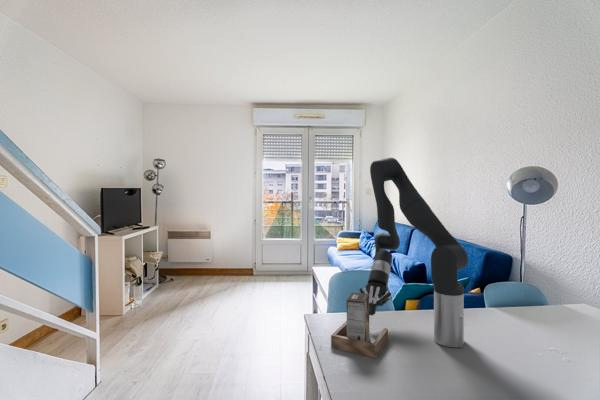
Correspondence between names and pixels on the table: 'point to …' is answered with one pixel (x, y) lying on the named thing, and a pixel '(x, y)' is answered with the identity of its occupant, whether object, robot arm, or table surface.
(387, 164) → the robot arm
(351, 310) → the coffee box
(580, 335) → the table surface
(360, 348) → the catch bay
